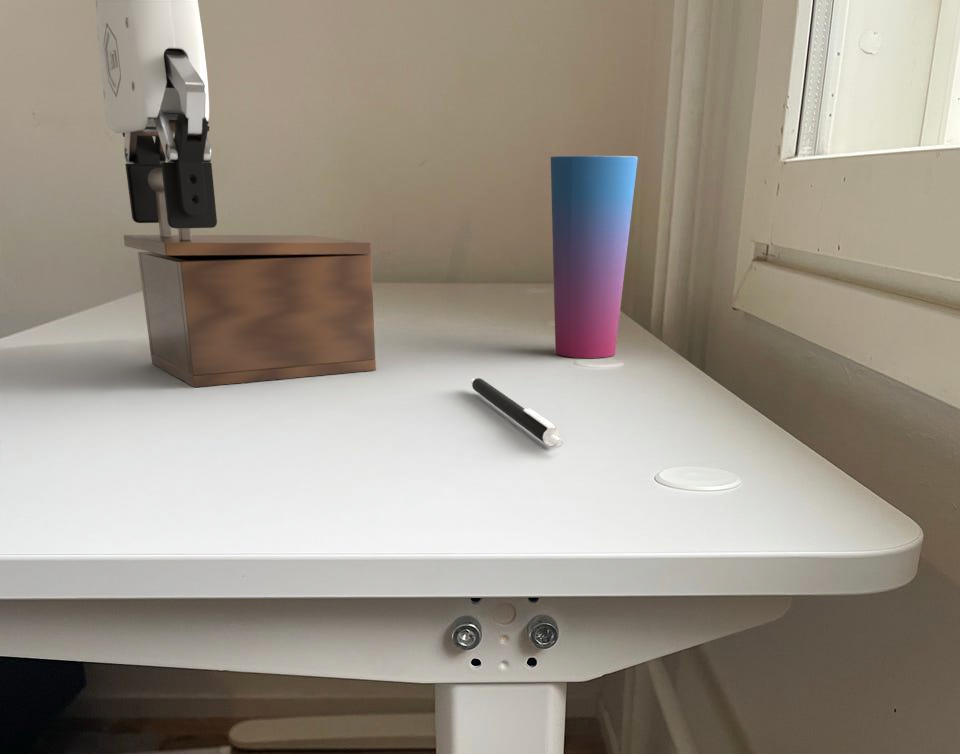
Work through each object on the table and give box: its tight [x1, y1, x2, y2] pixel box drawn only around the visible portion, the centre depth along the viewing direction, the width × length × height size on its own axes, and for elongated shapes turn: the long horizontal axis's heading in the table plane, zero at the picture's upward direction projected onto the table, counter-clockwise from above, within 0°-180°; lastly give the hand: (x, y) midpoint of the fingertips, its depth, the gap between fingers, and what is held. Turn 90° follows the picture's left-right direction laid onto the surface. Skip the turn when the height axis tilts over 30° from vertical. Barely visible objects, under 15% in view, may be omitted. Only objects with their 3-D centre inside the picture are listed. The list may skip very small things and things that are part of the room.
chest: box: [137, 251, 377, 388], centre depth 78 cm, size 14×12×8 cm
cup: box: [550, 155, 639, 359], centre depth 83 cm, size 7×7×15 cm
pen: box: [470, 377, 563, 448], centre depth 63 cm, size 1×19×1 cm, turn 15°
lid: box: [123, 168, 372, 256], centre depth 75 cm, size 15×12×5 cm
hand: (173, 224), depth 73 cm, fingers open, 9 cm apart
